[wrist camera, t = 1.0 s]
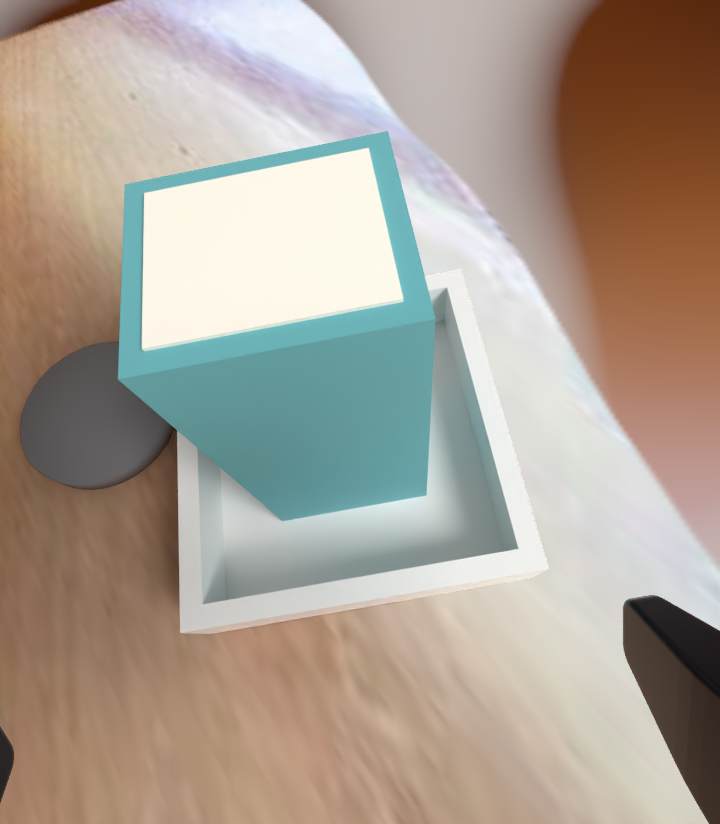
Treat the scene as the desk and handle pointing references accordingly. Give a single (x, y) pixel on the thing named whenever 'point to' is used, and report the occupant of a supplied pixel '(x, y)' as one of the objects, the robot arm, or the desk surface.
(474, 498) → the white tray
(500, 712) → the desk surface
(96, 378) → the charcoal coaster
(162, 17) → the desk surface
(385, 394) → the teal carton
